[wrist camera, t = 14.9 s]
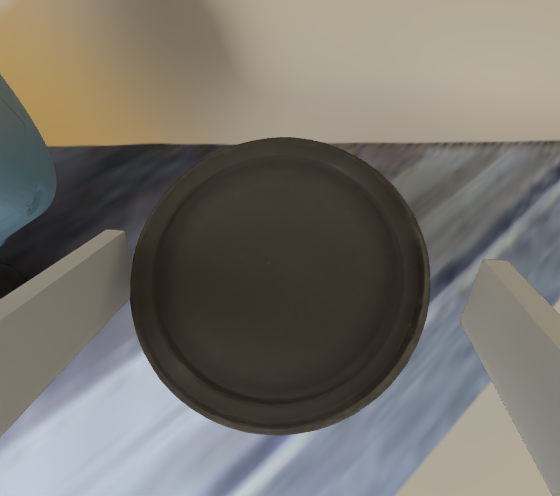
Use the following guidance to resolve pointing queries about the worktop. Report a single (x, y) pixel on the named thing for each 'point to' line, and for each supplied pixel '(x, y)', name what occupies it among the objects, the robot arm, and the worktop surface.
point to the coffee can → (280, 286)
